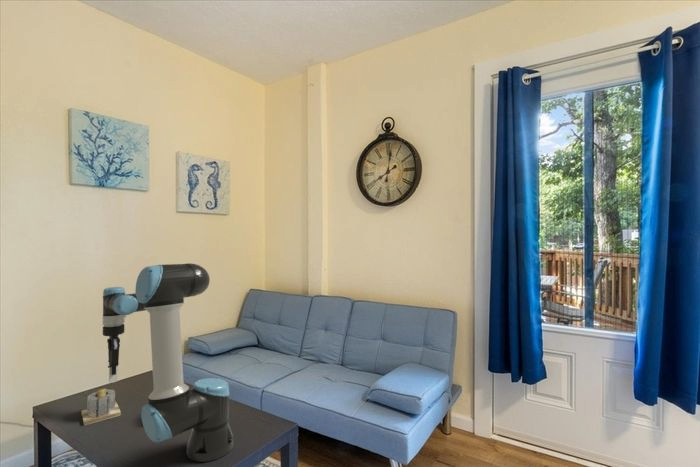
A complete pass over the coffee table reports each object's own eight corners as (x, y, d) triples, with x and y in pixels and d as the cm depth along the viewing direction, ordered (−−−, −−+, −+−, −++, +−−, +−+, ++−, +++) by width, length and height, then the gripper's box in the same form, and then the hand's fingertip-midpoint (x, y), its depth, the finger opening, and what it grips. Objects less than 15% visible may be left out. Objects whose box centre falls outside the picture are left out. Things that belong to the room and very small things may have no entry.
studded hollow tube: (116, 412, 142) (116, 395, 142) (88, 419, 136) (88, 401, 136) (112, 404, 149) (113, 387, 149) (86, 410, 143) (86, 393, 143)
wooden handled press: (120, 415, 142) (121, 390, 142) (84, 425, 134) (84, 399, 134) (116, 404, 151) (116, 380, 151) (81, 413, 143) (81, 388, 143)
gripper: (127, 326, 143) (126, 384, 143) (121, 320, 153) (121, 374, 152) (104, 329, 138) (104, 389, 138) (100, 323, 148) (100, 379, 147)
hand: (113, 381), depth 145 cm, fingers closed
